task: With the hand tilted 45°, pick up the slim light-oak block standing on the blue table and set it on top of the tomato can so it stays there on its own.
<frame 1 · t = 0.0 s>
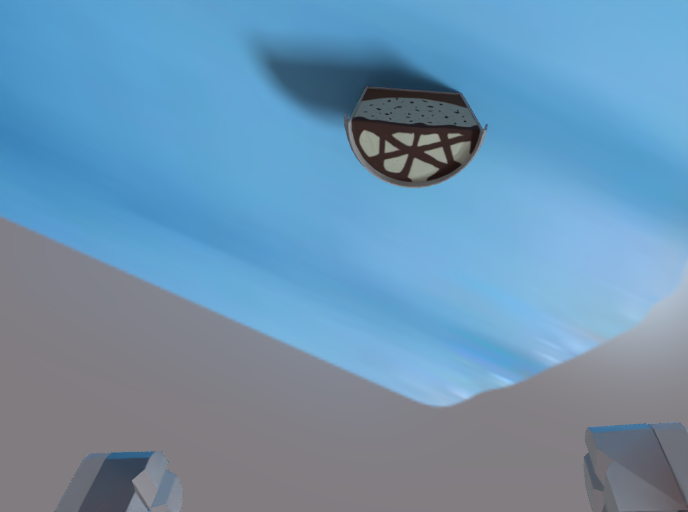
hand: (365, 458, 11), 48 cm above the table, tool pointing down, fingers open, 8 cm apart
food container: (410, 119, 57), on the table
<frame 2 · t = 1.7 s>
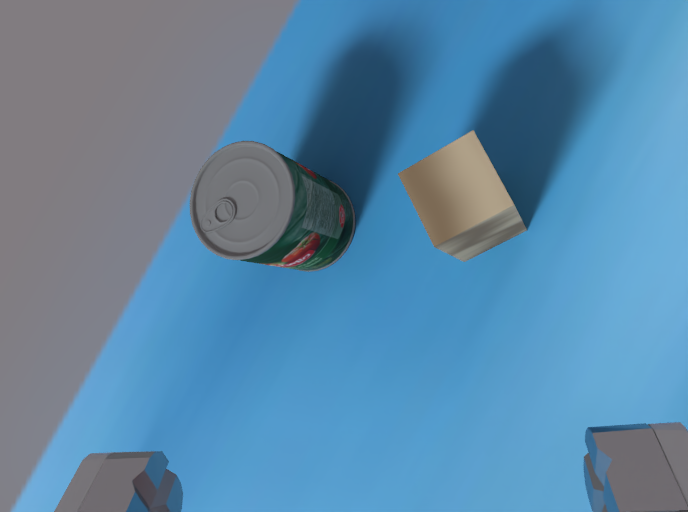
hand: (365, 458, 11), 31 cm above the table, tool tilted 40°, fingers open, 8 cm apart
oak block: (479, 216, 42), on the table
canned tomato: (312, 224, 47), on the table
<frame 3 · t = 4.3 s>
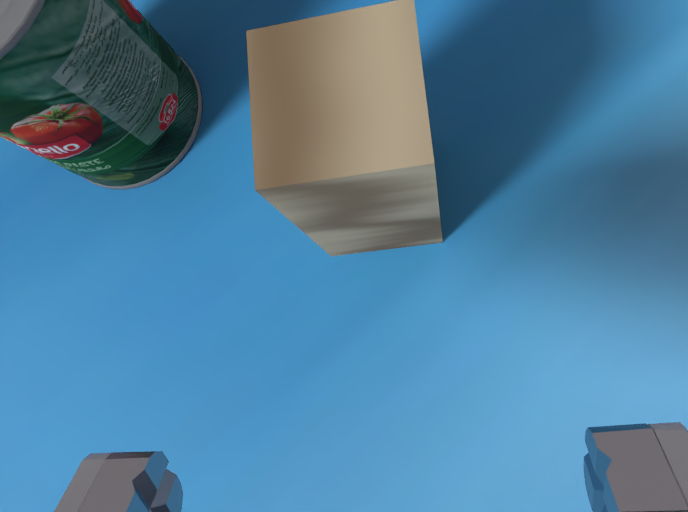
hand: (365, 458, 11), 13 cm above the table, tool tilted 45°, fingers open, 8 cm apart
oak block: (380, 195, 25), on the table
canned tomato: (132, 118, 29), on the table
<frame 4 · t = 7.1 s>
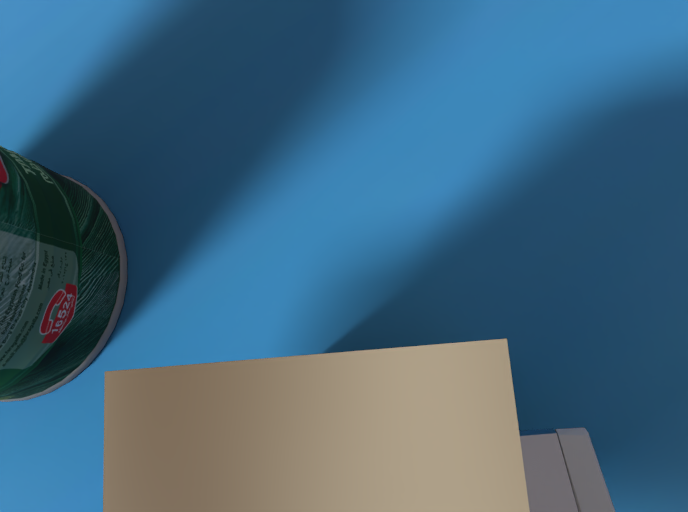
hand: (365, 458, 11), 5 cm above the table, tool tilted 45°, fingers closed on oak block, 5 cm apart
oak block: (397, 450, 16), on the table, touching gripper
canned tomato: (28, 283, 20), on the table
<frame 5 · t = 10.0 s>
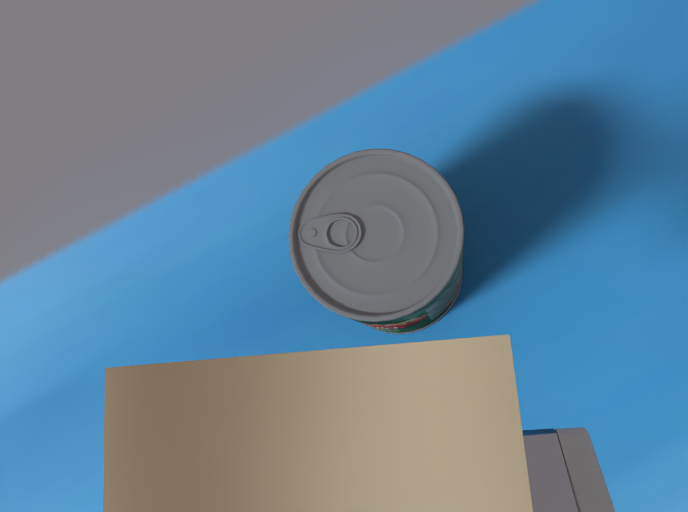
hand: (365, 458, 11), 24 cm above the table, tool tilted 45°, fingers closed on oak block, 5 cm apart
oak block: (397, 448, 16), point 18 cm above the table, touching gripper
canned tomato: (399, 271, 36), on the table
when the fingers open (18 cm above the table, at t = 12.9 s): oak block drops 2 cm, resting on canned tomato.
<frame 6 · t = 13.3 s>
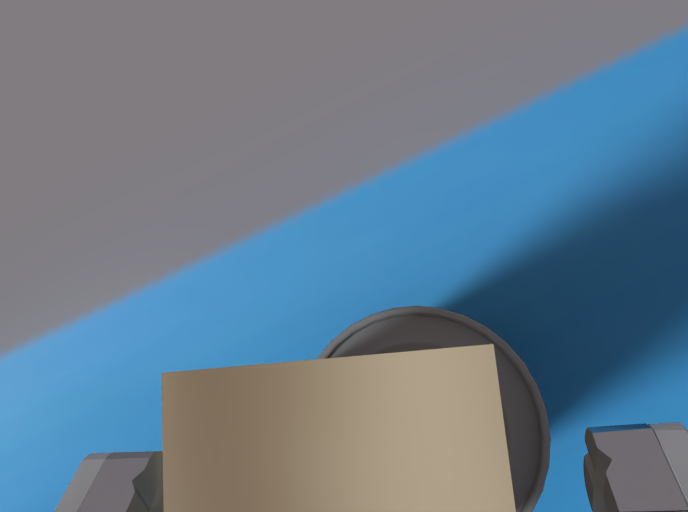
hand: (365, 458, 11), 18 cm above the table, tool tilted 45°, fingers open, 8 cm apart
oak block: (401, 443, 17), point 11 cm above the table, touching canned tomato
canned tomato: (432, 406, 28), on the table, touching oak block
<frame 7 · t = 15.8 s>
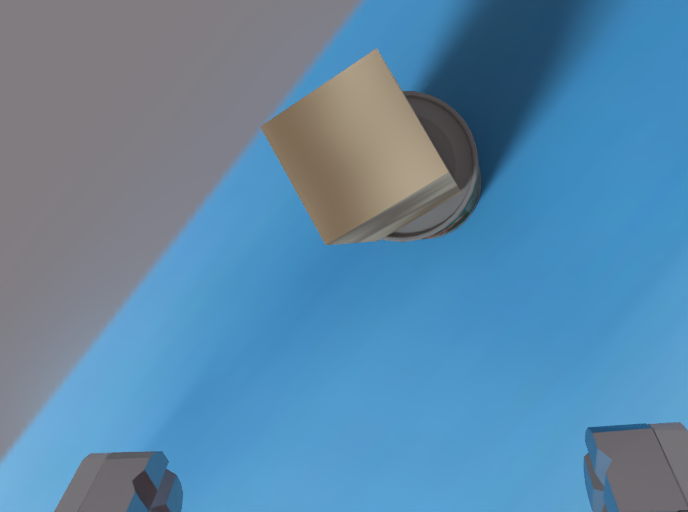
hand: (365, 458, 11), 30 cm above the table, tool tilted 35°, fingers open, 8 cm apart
oak block: (395, 176, 30), point 11 cm above the table, touching canned tomato
canned tomato: (424, 184, 40), on the table, touching oak block
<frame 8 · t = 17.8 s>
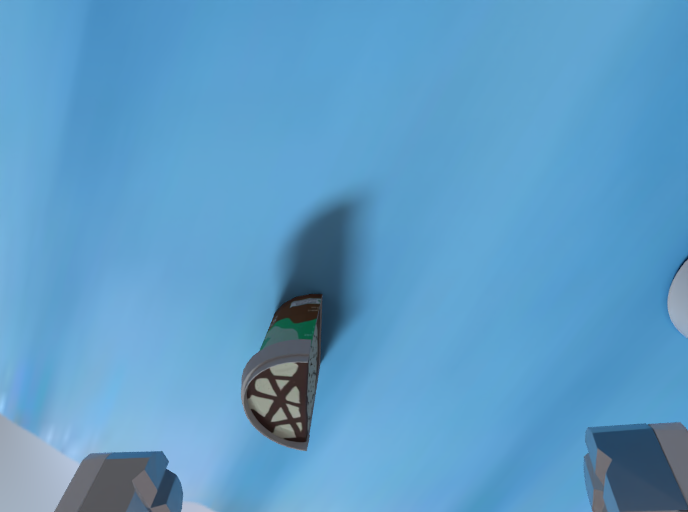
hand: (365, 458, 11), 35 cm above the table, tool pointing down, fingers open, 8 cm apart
food container: (291, 326, 56), on the table
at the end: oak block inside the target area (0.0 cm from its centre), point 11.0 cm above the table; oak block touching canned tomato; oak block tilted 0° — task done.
